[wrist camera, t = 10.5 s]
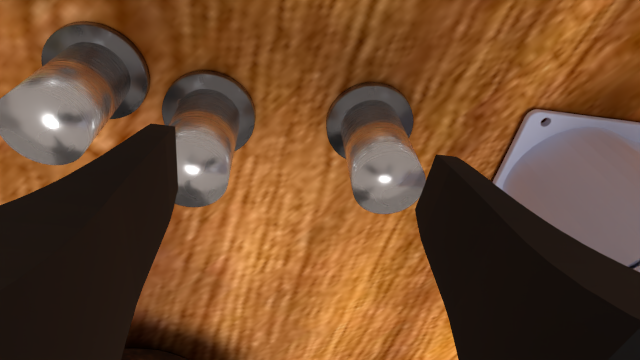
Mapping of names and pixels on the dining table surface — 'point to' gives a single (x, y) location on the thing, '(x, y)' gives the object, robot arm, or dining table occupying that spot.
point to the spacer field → (197, 119)
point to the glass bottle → (148, 355)
